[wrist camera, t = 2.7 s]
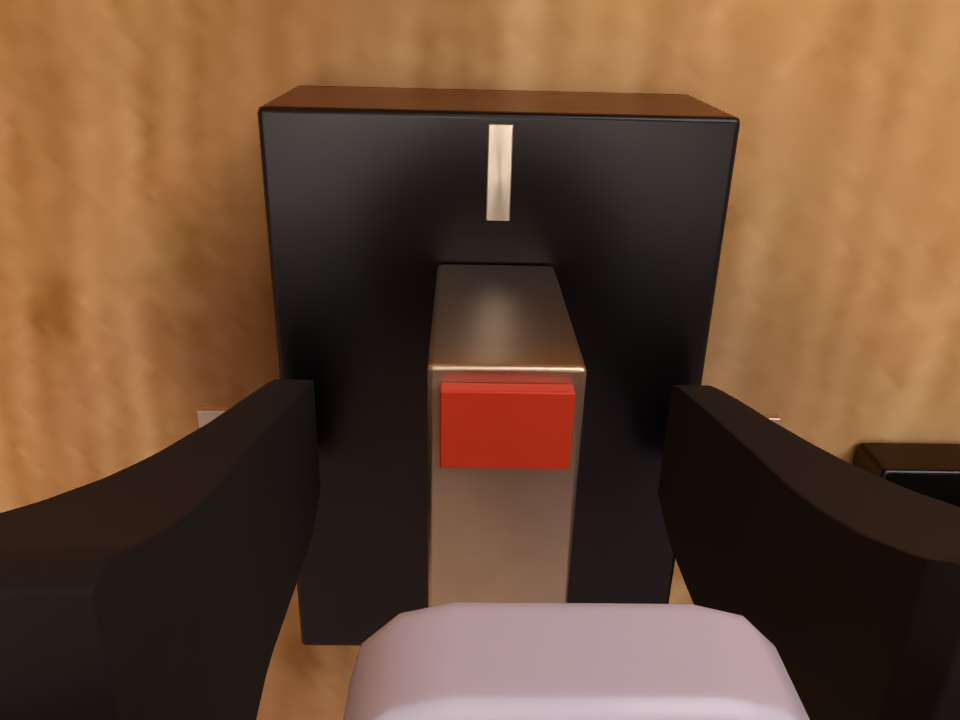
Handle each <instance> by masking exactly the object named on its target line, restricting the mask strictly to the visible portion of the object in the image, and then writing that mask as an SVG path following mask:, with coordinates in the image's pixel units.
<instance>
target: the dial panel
mask: <svg viewBox="0 0 960 720" xmlns="http://www.w3.org/2000/svg"><path fill="white" fill-rule="evenodd" d="M257 113H258V125H259V137H260V148H261V160H262V172H263V184H264V196H265V208H266V220H267V232H268V244H269V256H270V268H271V280H272V292H273V304H274V316H275V328H276V340H277V352H278V364H279V376H280V379H288V380H314V394H315V410H316V425H317V441H318V456H319V471H320V487H321V490H320V496H319V501H318V507H317V512H316V518H315V523H314V528H313V533H312V538H311V542H310V545H309V548H308V551H307V554H306V557H305V560H304V563H303V566H302V569H301V572H300V575H299V578H298V580H297V591H298V603H299V615H300V627H301V639H302V643H303V644H304V645H361V644H362V643H363V642H364V641H366V640H367V639H368V638H369V637H371V636H372V635H373V634H374V633H376V632H377V631H378V630H379V629H381V628H382V627H383V626H385V625H386V624H387V623H388V622H390V621H391V620H392V619H393V618H395V617H396V616H397V615H398V614H400V613H404V612H409V611H414V610H419V609H424V608H428V386H427V368H428V358H429V348H430V338H431V328H432V318H433V308H434V298H435V288H436V278H437V269H438V266H439V265H442V264H454V265H509V266H551V267H553V268H554V271H555V274H556V277H557V280H558V283H559V286H560V289H561V293H562V296H563V299H564V302H565V305H566V308H567V311H568V314H569V318H570V321H571V324H572V327H573V330H574V333H575V336H576V339H577V342H578V346H579V349H580V352H581V355H582V358H583V361H584V364H585V367H586V370H587V372H586V384H585V395H584V407H583V419H582V431H581V443H580V454H579V466H578V478H577V490H576V501H575V513H574V525H573V537H572V548H571V560H570V572H569V584H568V596H567V603H615V604H669V597H670V590H671V583H672V577H673V570H674V563H675V556H674V553H673V551H672V548H671V546H670V543H669V539H668V535H667V531H666V527H665V523H664V519H663V514H662V510H661V505H660V501H659V496H658V487H659V480H660V472H661V465H662V457H663V450H664V442H665V435H666V427H667V420H668V412H669V404H670V397H671V389H672V385H701V382H702V375H703V368H704V362H705V355H706V348H707V342H708V335H709V328H710V321H711V315H712V308H713V301H714V295H715V288H716V281H717V274H718V268H719V261H720V254H721V247H722V241H723V234H724V227H725V221H726V214H727V207H728V200H729V194H730V187H731V180H732V174H733V167H734V160H735V153H736V147H737V140H738V133H739V127H740V122H739V118H736V117H734V116H732V115H730V114H728V113H726V112H724V111H721V110H719V109H717V108H715V107H713V106H710V105H708V104H706V103H704V102H702V101H700V100H697V99H695V98H693V97H691V96H689V95H680V94H637V93H595V92H552V91H509V90H467V89H424V88H381V87H339V86H297V87H295V88H293V89H292V90H290V91H288V92H286V93H285V94H283V95H281V96H279V97H277V98H276V99H274V100H272V101H270V102H268V103H267V104H265V105H263V106H261V107H259V109H258V112H257ZM230 408H231V407H199V408H198V410H197V418H198V426H199V428H201V427H203V426H204V425H206V424H207V423H209V422H210V421H212V420H213V419H215V418H216V417H218V416H219V415H221V414H222V413H224V412H225V411H227V410H228V409H230ZM763 416H765V417H767V418H768V419H770V420H772V421H773V422H775V423H777V424H778V425H780V421H781V418H780V417H779V416H778V415H763Z"/></svg>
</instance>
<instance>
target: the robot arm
mask: <svg viewBox="0 0 960 720" xmlns="http://www.w3.org/2000/svg"><path fill="white" fill-rule="evenodd" d="M320 490H321V487H320V471H319V456H318V441H317V425H316V410H315V394H314V380H288V379H275V380H273V381H271V382H269V383H267V384H266V385H264V386H263V387H261V388H260V389H258V390H257V391H255V392H254V393H252V394H251V395H249V396H248V397H246V398H245V399H243V400H242V401H240V402H239V403H237V404H236V405H234V406H233V407H231V408H230V409H228V410H227V411H225V412H224V413H222V414H221V415H219V416H218V417H216V418H215V419H213V420H212V421H210V422H209V423H207V424H206V425H204V426H203V427H201V428H199V429H198V430H196V431H194V432H192V433H191V434H189V435H187V436H186V437H184V438H182V439H181V440H179V441H177V442H176V443H174V444H172V445H171V446H169V447H167V448H165V449H164V450H162V451H160V452H158V453H156V454H154V455H153V456H151V457H149V458H147V459H145V460H143V461H141V462H139V463H137V464H134V465H132V466H130V467H128V468H126V469H123V470H121V471H119V472H117V473H115V474H113V475H110V476H108V477H106V478H103V479H101V480H98V481H96V482H93V483H90V484H87V485H85V486H82V487H79V488H76V489H74V490H71V491H68V492H66V493H63V494H60V495H57V496H55V497H52V498H49V499H46V500H43V501H40V502H37V503H34V504H30V505H27V506H24V507H20V508H17V509H13V510H10V511H7V512H3V513H0V720H256V718H257V713H258V709H259V704H260V700H261V695H262V691H263V686H264V682H265V677H266V674H267V670H268V667H269V663H270V660H271V656H272V653H273V650H274V647H275V644H276V641H277V638H278V635H279V632H280V629H281V627H282V624H283V621H284V618H285V615H286V612H287V609H288V606H289V603H290V601H291V598H292V595H293V592H294V589H295V586H296V583H297V580H298V578H299V575H300V572H301V569H302V566H303V563H304V560H305V557H306V554H307V551H308V548H309V545H310V542H311V538H312V533H313V528H314V523H315V518H316V512H317V507H318V501H319V496H320ZM658 496H659V501H660V505H661V510H662V514H663V519H664V523H665V527H666V531H667V535H668V539H669V543H670V546H671V548H672V551H673V553H674V556H675V559H676V561H677V564H678V566H679V569H680V571H681V574H682V576H683V579H684V581H685V584H686V586H687V589H688V591H689V593H690V596H691V598H692V601H693V603H694V605H693V604H615V603H487V602H453V603H448V604H443V605H438V606H433V607H429V608H424V609H419V610H414V611H409V612H404V613H400V614H398V615H397V616H396V617H395V618H393V619H392V620H391V621H390V622H388V623H387V624H386V625H385V626H383V627H382V628H381V629H379V630H378V631H377V632H376V633H374V634H373V635H372V636H371V637H369V638H368V639H367V640H366V641H364V642H363V643H362V644H361V647H360V650H359V654H358V657H357V660H356V663H355V667H354V670H353V673H352V677H351V680H350V683H349V689H348V695H347V701H346V707H345V712H344V718H343V720H960V507H958V506H955V505H952V504H949V503H946V502H943V501H940V500H937V499H934V498H931V497H928V496H925V495H922V494H920V493H917V492H914V491H912V490H909V489H906V488H904V487H902V486H899V485H897V484H894V483H892V482H890V481H887V480H885V479H883V478H880V477H878V476H876V475H873V474H871V473H869V472H866V471H864V470H862V469H860V468H858V467H856V466H853V465H851V464H849V463H847V462H845V461H843V460H841V459H839V458H838V457H836V456H834V455H832V454H830V453H828V452H826V451H824V450H822V449H820V448H818V447H816V446H815V445H813V444H811V443H809V442H807V441H806V440H804V439H802V438H800V437H799V436H797V435H795V434H793V433H792V432H790V431H788V430H787V429H785V428H783V427H782V426H780V425H778V424H777V423H775V422H773V421H772V420H770V419H768V418H767V417H765V416H763V415H762V414H760V413H758V412H757V411H755V410H753V409H752V408H750V407H749V406H747V405H745V404H744V403H742V402H740V401H739V400H737V399H735V398H733V397H732V396H730V395H728V394H726V393H725V392H723V391H721V390H719V389H717V388H714V387H712V386H701V385H672V389H671V397H670V404H669V412H668V420H667V427H666V435H665V442H664V450H663V457H662V465H661V472H660V480H659V487H658Z"/></svg>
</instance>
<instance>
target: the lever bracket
mask: <svg viewBox="0 0 960 720" xmlns="http://www.w3.org/2000/svg"><path fill="white" fill-rule="evenodd" d="M854 466H856V467H858V468H860V469H862V470H864V471H866V472H869V473H871V474H873V475H876V476H878V477H880V478H883V479H885V480H887V481H890V482H892V483H894V484H897V485H899V486H902V487H904V488H906V489H909V490H912V491H914V492H917V493H920V494H922V495H925V496H928V497H931V498H934V499H937V500H940V501H943V502H946V503H949V504H952V505H955V506H958V507H960V444H927V443H860V444H859V445H858V449H857V453H856V457H855V462H854Z"/></svg>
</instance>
